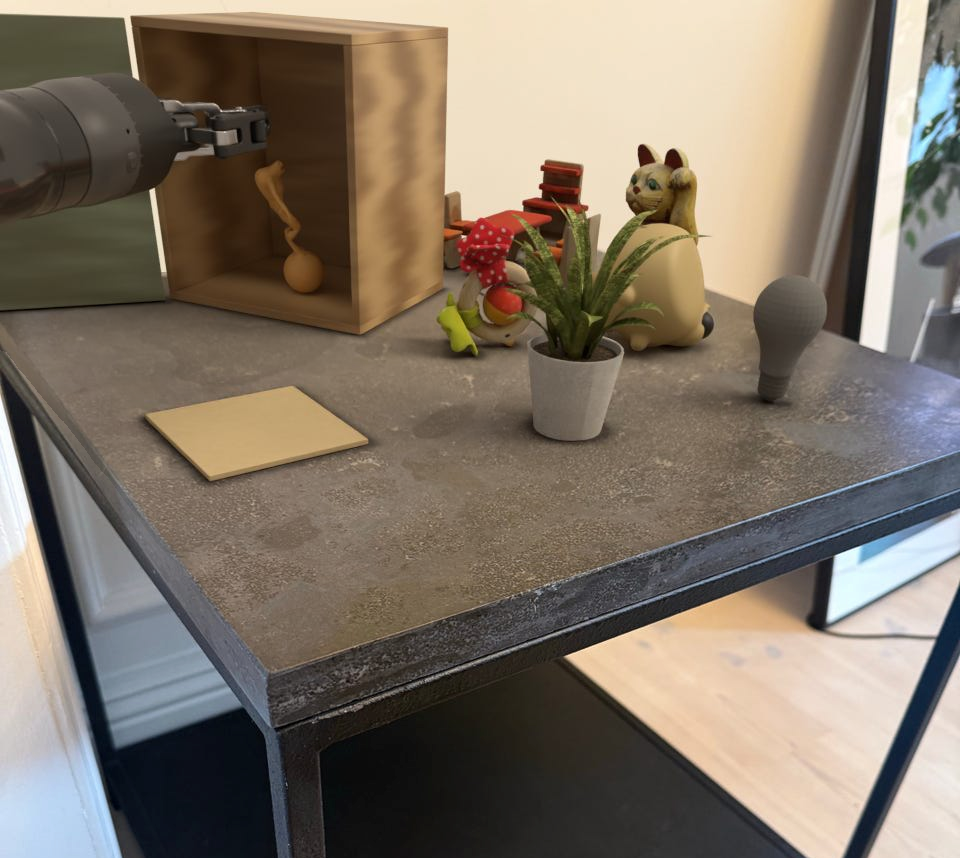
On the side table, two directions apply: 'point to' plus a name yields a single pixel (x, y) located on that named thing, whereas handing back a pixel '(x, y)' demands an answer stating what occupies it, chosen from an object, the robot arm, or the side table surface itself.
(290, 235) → the figurine
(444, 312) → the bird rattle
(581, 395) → the house plant
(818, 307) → the light bulb
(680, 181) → the decorative figurine
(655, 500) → the side table surface
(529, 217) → the dollhouse furniture set
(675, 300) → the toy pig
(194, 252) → the cupboard
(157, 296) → the dark green flat panel
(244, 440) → the mat
